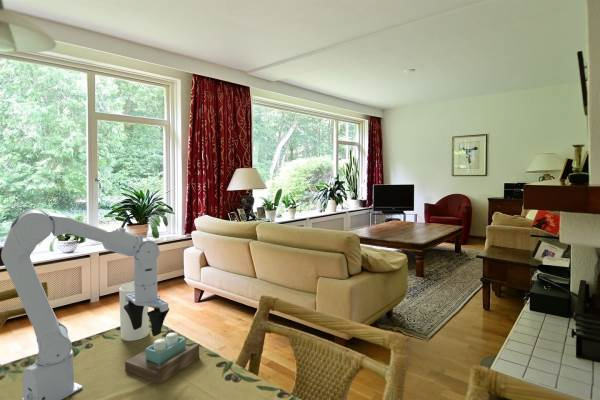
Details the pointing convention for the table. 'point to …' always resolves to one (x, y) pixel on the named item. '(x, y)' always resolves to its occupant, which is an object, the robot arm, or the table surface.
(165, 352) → the light blue open box
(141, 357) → the brown flat block
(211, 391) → the table surface
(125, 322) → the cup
